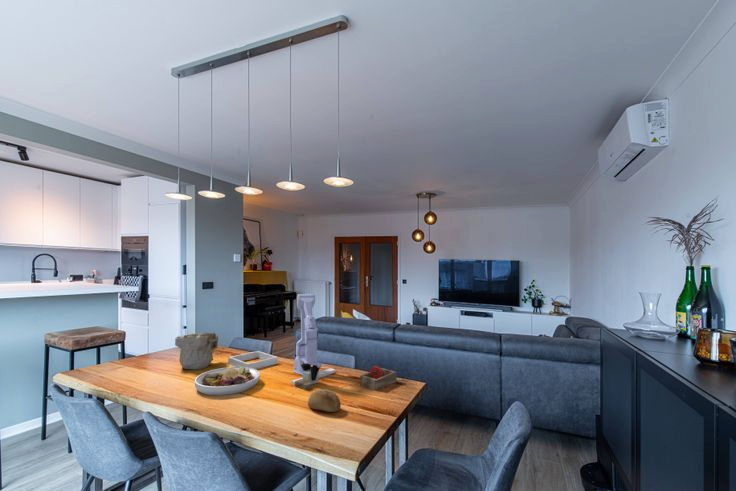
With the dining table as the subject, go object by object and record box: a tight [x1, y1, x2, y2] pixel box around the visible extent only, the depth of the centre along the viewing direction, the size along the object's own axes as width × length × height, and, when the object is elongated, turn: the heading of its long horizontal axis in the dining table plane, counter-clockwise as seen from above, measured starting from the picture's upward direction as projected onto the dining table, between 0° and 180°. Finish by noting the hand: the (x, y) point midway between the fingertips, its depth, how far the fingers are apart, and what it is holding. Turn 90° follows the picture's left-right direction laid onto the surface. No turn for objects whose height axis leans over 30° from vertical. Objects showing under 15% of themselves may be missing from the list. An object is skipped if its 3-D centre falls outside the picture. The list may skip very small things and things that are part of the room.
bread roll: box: [307, 388, 341, 413], centre depth 139 cm, size 10×15×8 cm, turn 68°
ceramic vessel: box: [174, 331, 219, 370], centre depth 197 cm, size 23×24×25 cm
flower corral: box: [227, 350, 279, 370], centre depth 201 cm, size 21×20×4 cm
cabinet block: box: [301, 370, 320, 385], centre depth 169 cm, size 4×7×6 cm, turn 141°
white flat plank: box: [290, 367, 336, 386], centre depth 178 cm, size 4×28×2 cm, turn 141°
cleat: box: [294, 379, 313, 391], centre depth 164 cm, size 8×4×2 cm, turn 51°
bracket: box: [369, 365, 392, 388], centre depth 170 cm, size 12×4×8 cm, turn 65°
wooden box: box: [359, 367, 397, 392], centre depth 170 cm, size 10×17×5 cm, turn 141°
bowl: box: [194, 366, 261, 396], centre depth 165 cm, size 30×30×8 cm
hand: (310, 378), depth 169 cm, fingers closed on cabinet block, 4 cm apart
